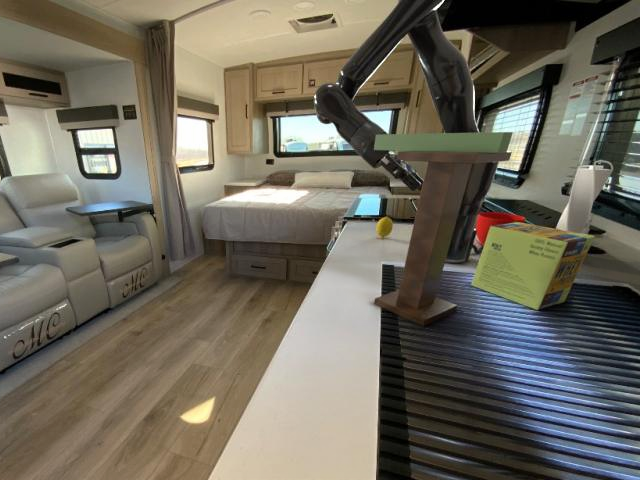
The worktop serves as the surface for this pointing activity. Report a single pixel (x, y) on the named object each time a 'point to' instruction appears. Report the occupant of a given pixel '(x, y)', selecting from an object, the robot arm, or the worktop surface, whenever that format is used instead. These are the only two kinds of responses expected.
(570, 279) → the protein box
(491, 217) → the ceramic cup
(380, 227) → the lemon
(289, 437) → the worktop surface
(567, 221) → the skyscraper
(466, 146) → the sage bar
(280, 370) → the worktop surface
